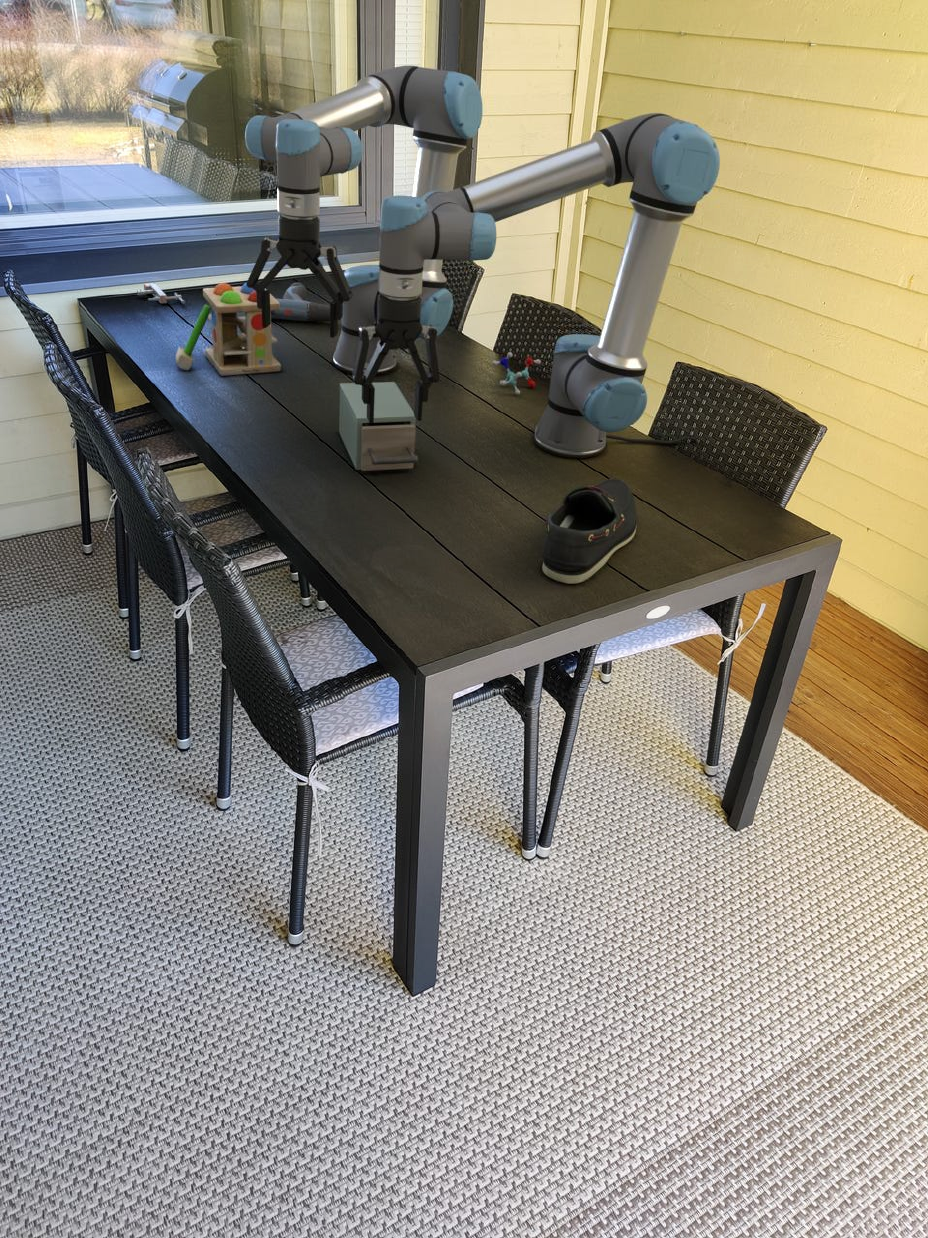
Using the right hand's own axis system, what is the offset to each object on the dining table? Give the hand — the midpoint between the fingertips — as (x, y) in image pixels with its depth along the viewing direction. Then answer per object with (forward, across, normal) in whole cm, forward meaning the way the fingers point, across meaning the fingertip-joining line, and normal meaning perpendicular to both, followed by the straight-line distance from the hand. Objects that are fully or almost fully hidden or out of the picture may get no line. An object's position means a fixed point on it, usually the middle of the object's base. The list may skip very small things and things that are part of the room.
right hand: (394, 418), depth 180 cm
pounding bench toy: (+13, -25, +64) cm, 70 cm away
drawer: (+12, 0, +8) cm, 14 cm away
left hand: (-9, -14, +24) cm, 29 cm away
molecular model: (+13, +40, +44) cm, 61 cm away
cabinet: (+13, 0, +14) cm, 19 cm away
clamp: (+13, -38, +114) cm, 121 cm away
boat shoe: (+13, +30, -27) cm, 42 cm away
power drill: (+13, 0, +102) cm, 103 cm away
